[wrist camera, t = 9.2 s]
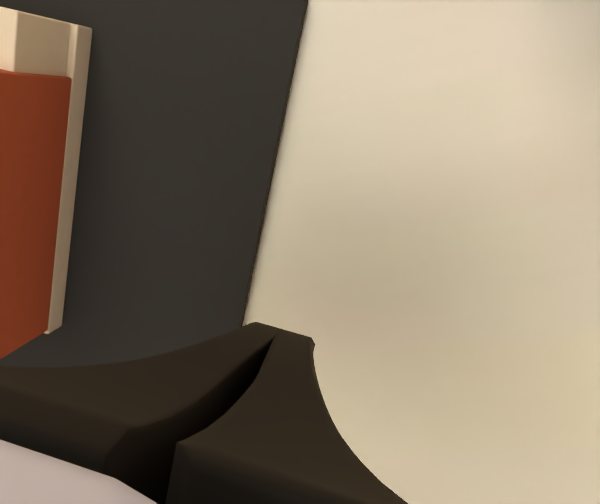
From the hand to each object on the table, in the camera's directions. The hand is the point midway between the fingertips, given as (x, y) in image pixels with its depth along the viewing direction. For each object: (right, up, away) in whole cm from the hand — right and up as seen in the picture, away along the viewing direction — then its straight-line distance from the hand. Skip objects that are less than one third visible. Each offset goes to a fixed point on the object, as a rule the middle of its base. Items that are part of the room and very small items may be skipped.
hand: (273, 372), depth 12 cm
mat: (-9, +5, +11) cm, 15 cm away
